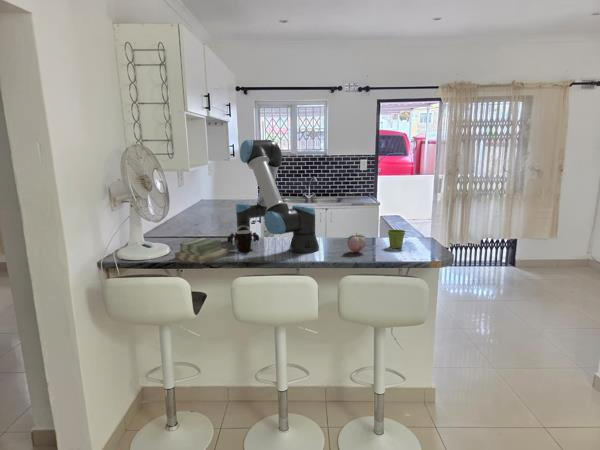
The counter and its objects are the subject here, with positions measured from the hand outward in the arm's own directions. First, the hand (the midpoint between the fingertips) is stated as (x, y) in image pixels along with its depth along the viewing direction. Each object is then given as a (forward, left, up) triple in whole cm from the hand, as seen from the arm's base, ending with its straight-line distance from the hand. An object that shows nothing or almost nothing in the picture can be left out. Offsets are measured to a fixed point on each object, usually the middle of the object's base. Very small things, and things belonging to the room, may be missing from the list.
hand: (243, 242), depth 197 cm
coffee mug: (+3, -3, -6) cm, 8 cm away
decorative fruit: (-49, -28, -6) cm, 57 cm away
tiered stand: (+15, +15, -6) cm, 22 cm away
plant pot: (-63, -48, -6) cm, 80 cm away
